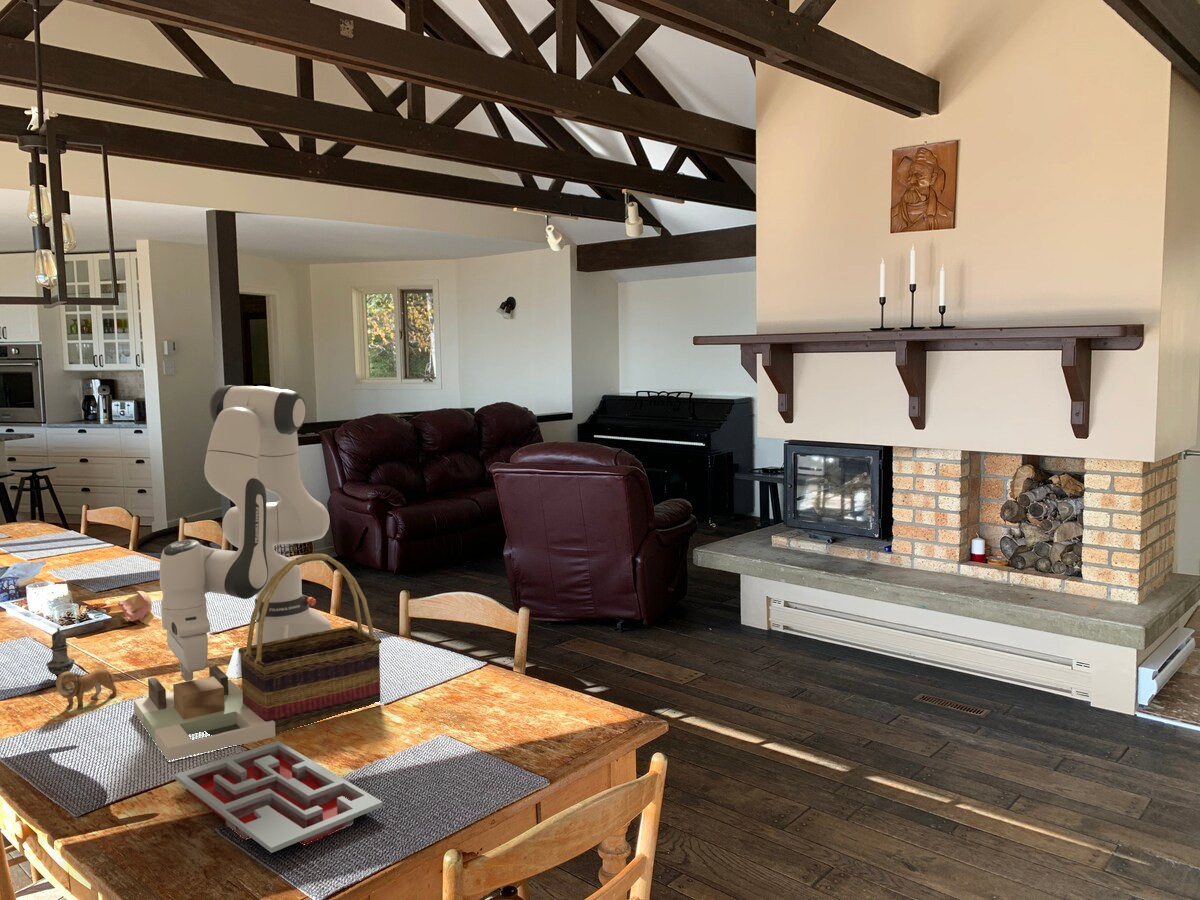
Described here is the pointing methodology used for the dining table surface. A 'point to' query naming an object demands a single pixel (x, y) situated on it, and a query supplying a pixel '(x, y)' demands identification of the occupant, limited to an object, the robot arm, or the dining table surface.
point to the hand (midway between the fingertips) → (187, 678)
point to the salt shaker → (59, 655)
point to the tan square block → (198, 697)
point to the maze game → (277, 795)
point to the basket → (310, 665)
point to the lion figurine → (83, 685)
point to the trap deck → (202, 725)
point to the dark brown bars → (159, 692)
